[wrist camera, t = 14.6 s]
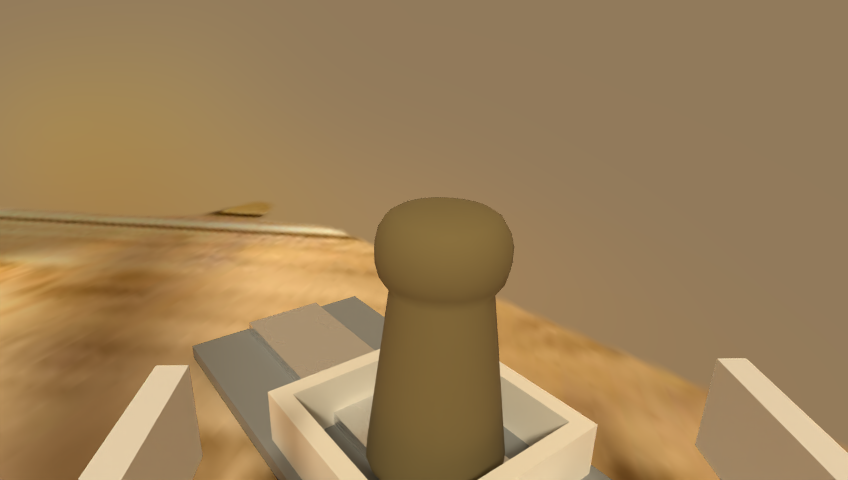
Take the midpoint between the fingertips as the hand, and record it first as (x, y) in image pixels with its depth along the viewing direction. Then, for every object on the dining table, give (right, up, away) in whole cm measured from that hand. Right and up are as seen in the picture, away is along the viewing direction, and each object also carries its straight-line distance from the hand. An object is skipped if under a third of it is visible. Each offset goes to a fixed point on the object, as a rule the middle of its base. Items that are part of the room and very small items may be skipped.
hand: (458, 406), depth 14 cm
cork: (0, -5, +10) cm, 11 cm away
